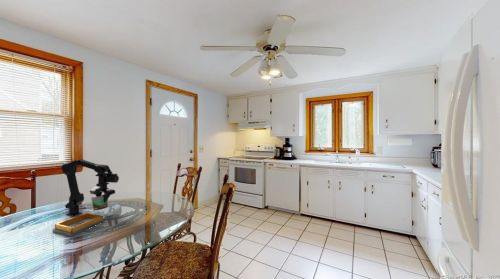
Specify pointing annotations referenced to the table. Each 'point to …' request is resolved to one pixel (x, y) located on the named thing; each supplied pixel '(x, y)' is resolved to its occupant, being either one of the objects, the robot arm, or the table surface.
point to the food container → (99, 203)
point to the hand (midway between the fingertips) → (102, 202)
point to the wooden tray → (77, 224)
